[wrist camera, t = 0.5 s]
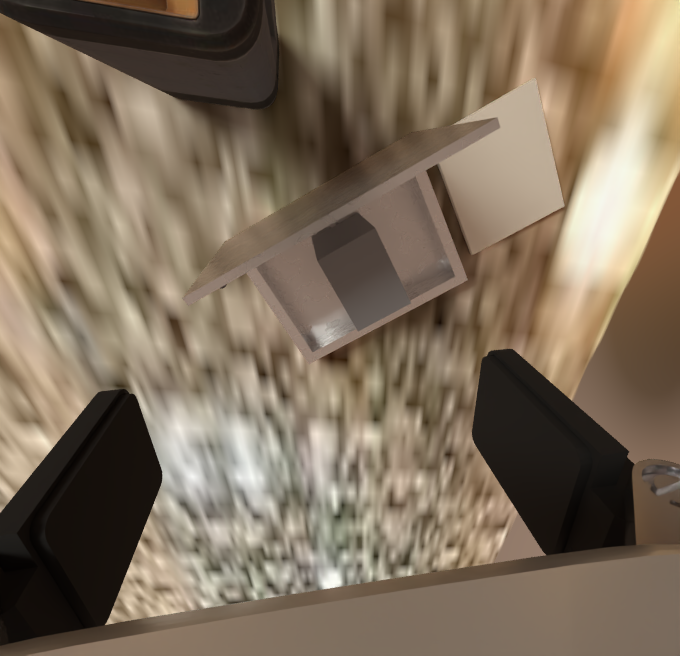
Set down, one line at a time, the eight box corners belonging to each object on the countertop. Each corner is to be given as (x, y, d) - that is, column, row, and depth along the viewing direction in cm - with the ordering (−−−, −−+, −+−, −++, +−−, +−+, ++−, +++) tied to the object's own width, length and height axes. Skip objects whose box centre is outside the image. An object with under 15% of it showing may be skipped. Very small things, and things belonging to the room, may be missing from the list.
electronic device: (280, 24, 29) (261, -195, 11) (277, 112, 31) (258, 56, 13) (151, 2, 27) (-122, -295, 9) (159, 96, 30) (-45, 8, 12)
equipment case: (401, 134, 33) (497, 117, 18) (455, 271, 39) (561, 346, 24) (230, 234, 35) (182, 298, 19) (307, 350, 41) (317, 467, 26)
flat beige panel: (531, 79, 32) (535, 77, 32) (560, 205, 37) (564, 206, 37) (428, 139, 33) (430, 138, 33) (470, 253, 38) (472, 255, 38)
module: (357, 212, 35) (375, 227, 28) (388, 274, 38) (411, 303, 31) (311, 238, 35) (316, 260, 28) (345, 298, 38) (357, 331, 31)
